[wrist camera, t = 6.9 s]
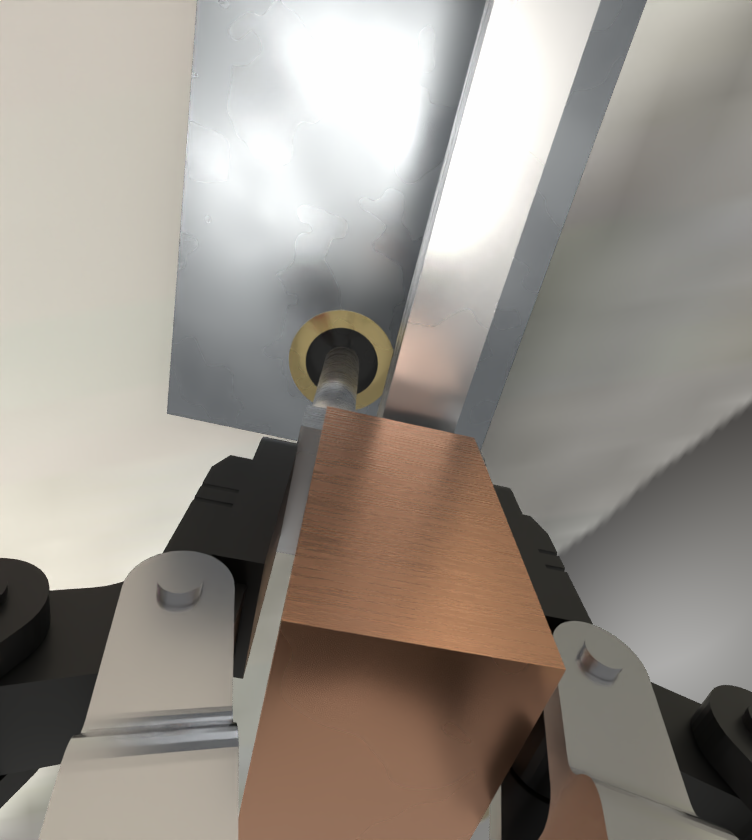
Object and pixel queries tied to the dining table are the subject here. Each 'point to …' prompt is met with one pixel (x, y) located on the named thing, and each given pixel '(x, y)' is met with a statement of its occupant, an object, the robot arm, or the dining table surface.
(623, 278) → the dining table surface
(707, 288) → the dining table surface
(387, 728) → the block
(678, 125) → the dining table surface
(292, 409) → the bolt plate
